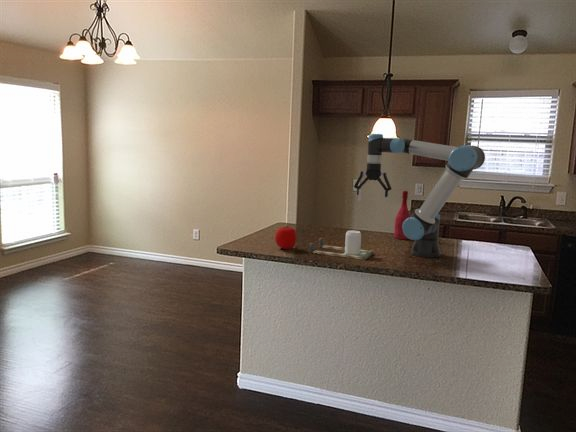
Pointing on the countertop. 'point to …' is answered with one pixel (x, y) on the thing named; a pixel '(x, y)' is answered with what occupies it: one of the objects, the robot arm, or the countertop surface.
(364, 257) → the bay
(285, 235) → the tomato
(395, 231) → the wine bottle
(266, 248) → the countertop surface
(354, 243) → the beverage can
